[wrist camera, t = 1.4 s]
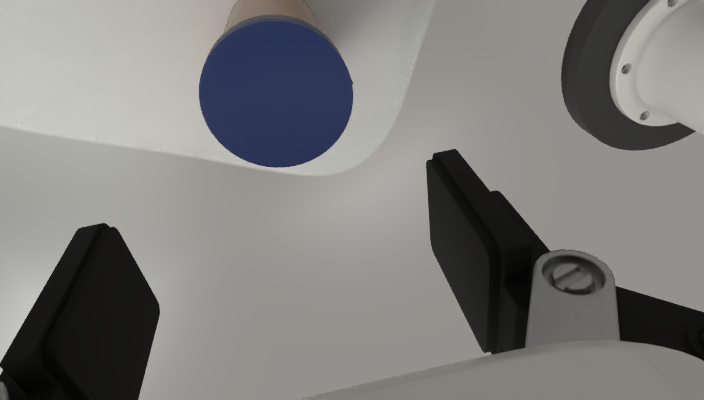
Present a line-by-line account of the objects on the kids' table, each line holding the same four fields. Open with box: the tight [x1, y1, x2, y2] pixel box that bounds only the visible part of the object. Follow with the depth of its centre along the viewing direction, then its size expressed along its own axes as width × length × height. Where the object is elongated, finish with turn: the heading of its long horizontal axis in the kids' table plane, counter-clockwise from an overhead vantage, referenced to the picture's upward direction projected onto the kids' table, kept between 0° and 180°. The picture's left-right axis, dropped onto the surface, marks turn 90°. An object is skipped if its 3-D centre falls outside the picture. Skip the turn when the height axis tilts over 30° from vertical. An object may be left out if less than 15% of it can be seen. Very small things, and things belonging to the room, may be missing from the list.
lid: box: [199, 14, 353, 167], centre depth 20 cm, size 7×7×1 cm
